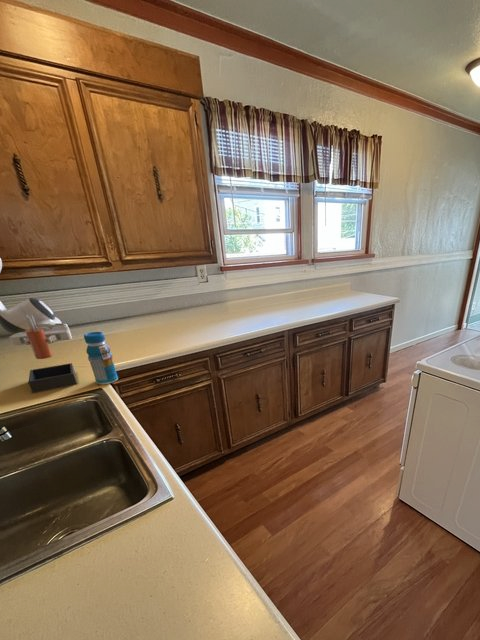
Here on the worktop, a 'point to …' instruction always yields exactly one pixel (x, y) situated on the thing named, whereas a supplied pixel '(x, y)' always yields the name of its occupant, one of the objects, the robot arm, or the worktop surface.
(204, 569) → the worktop surface
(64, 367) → the bin
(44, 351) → the cutlery cup
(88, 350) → the beverage bottle
